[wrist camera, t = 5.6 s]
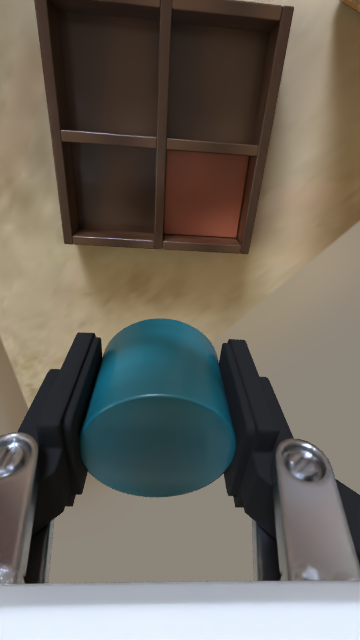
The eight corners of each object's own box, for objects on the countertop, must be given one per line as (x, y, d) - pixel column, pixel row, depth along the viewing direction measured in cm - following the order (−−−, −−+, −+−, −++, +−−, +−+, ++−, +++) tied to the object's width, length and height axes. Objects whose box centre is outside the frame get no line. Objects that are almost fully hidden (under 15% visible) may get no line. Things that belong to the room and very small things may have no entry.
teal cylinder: (105, 406, 12) (84, 497, 9) (99, 314, 10) (69, 392, 7) (210, 409, 12) (224, 499, 9) (225, 320, 10) (250, 398, 7)
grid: (73, 234, 23) (64, 244, 21) (48, -3, 17) (31, -23, 15) (241, 243, 24) (248, 254, 22) (279, 22, 18) (294, 6, 16)
